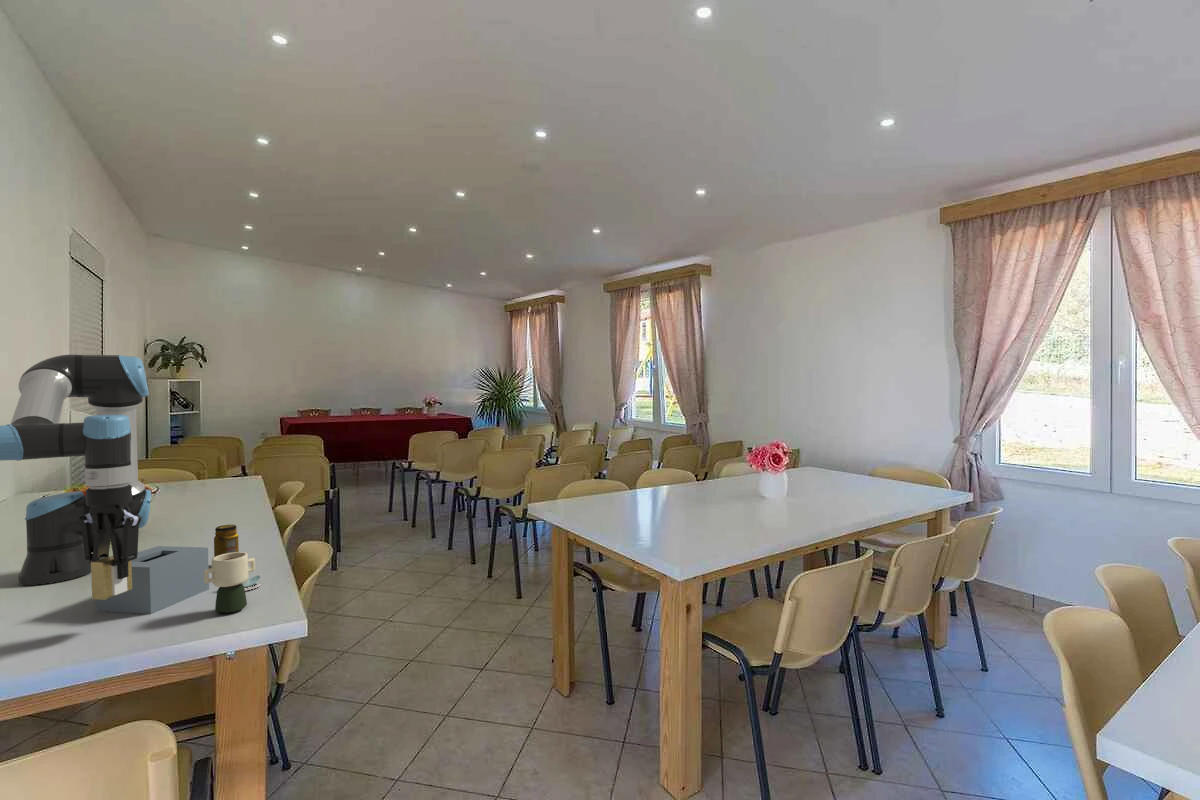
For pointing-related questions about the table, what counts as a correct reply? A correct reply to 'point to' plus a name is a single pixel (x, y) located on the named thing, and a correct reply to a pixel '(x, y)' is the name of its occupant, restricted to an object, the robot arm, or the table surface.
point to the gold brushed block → (105, 578)
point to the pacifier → (251, 582)
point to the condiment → (225, 540)
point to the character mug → (230, 580)
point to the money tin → (161, 580)
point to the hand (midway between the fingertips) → (112, 592)
